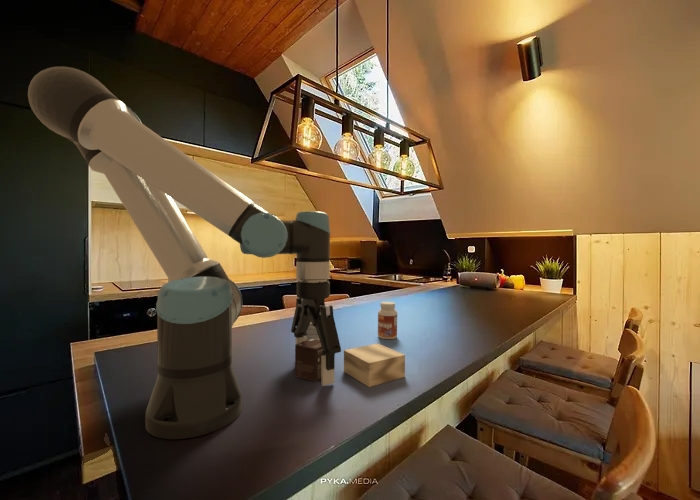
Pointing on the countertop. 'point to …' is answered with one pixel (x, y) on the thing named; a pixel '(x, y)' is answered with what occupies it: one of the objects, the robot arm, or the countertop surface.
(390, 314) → the pill bottle
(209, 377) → the robot arm
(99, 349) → the countertop surface
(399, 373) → the beech block
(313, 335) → the medicine box
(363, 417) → the countertop surface
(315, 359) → the box
